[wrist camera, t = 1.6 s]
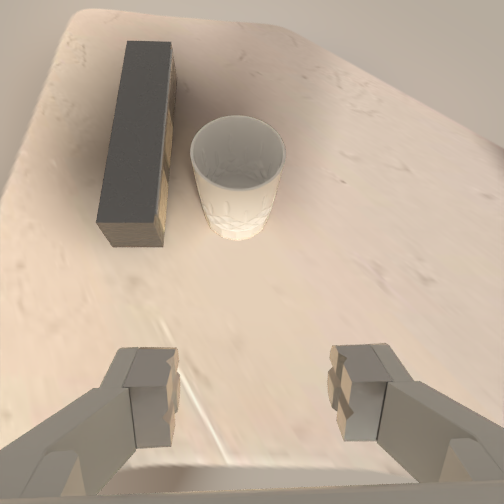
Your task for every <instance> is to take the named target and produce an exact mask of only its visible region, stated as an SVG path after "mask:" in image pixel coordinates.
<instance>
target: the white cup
mask: <svg viewBox="0 0 504 504" xmlns="http://www.w3.org/2000/svg"><path fill="white" fill-rule="evenodd" d="M190 157H191V162H192V166H193V170H194V175H195V179H196V184H197V188H198V192H199V196H200V200H201V204H202V207H203V210H204V213H205V217H206V220H207V222H208V224H209V226H210V228H211V229H212V230H213V231H214V232H216V233H217V234H218V235H220V236H221V237H222V238H227V239H231V240H235V241H238V240H243V239H249V238H252V237H253V236H255V235H256V234H257V233H259V232H260V231H262V229H263V228H264V226H265V224H266V222H267V220H268V218H269V214H270V211H271V209H272V206H273V203H274V199H275V196H276V193H277V189H278V185H279V182H280V178H281V174H282V171H283V167H284V164H285V159H286V149H285V145H284V142H283V140H282V138H281V137H280V135H279V134H278V133H277V131H276V130H275V129H274V128H272V127H271V126H270V125H268V124H267V123H265V122H263V121H261V120H259V119H257V118H253V117H250V116H243V115H230V116H224V117H220V118H217V119H215V120H213V121H211V122H209V123H207V124H206V125H204V126H203V127H202V128H201V129H200V130H199V131H198V132H197V134H196V135H195V137H194V138H193V141H192V143H191V148H190Z"/></svg>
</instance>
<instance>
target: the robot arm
mask: <svg viewBox="0 0 504 504" xmlns="http://www.w3.org/2000/svg"><path fill="white" fill-rule="evenodd" d="M330 361H331V363H332V366H333V367H332V368H331V369H330V370H329V371H328V380H327V385H328V395H329V400H330V403H331V406H332V408H333V409H335V410H336V411H337V420H336V421H337V423H338V426H339V429H340V432H341V435H342V437H343V440H344V441H377V443H378V444H379V445H380V446H381V447H382V448H383V449H384V450H385V451H386V452H387V453H388V454H389V455H390V456H391V457H392V458H394V459H395V460H396V461H397V462H398V463H399V464H400V465H401V466H402V467H403V468H404V469H405V470H406V471H407V472H408V473H409V474H410V475H411V476H413V477H414V478H415V479H416V480H417V481H418V482H419V483H408V484H407V483H406V484H379V485H353V486H352V485H350V486H323V487H298V488H274V489H273V488H272V489H246V490H221V491H197V492H196V491H195V492H169V493H142V494H117V495H97V494H98V493H99V492H100V491H101V490H102V489H103V487H104V486H105V485H106V484H107V483H108V482H109V481H110V480H111V478H112V477H113V476H114V475H115V474H116V473H117V472H118V470H119V469H120V468H121V467H122V466H123V465H124V464H125V463H126V461H127V460H128V459H129V458H130V457H131V456H132V455H133V454H134V452H135V451H136V449H138V448H155V447H171V445H172V439H173V434H174V429H175V413H176V412H177V411H178V407H179V399H180V375H179V373H178V372H177V368H178V363H179V356H178V349H177V348H170V347H140V348H139V347H127V348H120V349H119V350H118V351H117V353H116V355H115V357H114V359H113V361H112V363H111V365H110V367H109V369H108V371H107V373H106V375H105V377H104V379H103V381H102V383H101V385H100V387H99V388H93V389H91V390H90V391H88V392H87V393H85V394H84V395H82V396H81V397H79V398H78V399H76V400H75V401H73V402H72V403H70V404H69V405H67V406H66V407H64V408H63V409H61V410H60V411H58V412H57V413H55V414H54V415H52V416H51V417H49V418H48V419H46V420H45V421H43V422H42V423H40V424H39V425H37V426H36V427H34V428H33V429H31V430H30V431H28V432H27V433H25V434H24V435H22V436H21V437H19V438H18V439H16V440H15V441H13V442H12V443H10V444H9V445H7V446H6V447H4V448H3V449H1V450H0V504H504V428H503V427H501V426H499V425H497V424H495V423H494V422H492V421H490V420H488V419H487V418H485V417H483V416H481V415H479V414H478V413H476V412H474V411H472V410H470V409H469V408H467V407H465V406H463V405H462V404H460V403H458V402H456V401H454V400H453V399H451V398H449V397H447V396H446V395H444V394H442V393H440V392H438V391H437V390H435V389H433V388H431V387H429V386H428V385H426V384H424V383H422V382H421V381H414V380H413V378H412V377H411V376H410V374H409V373H408V371H407V370H406V369H405V367H404V366H403V364H402V363H401V361H400V360H399V359H398V357H397V356H396V354H395V353H394V352H393V350H392V349H391V347H390V346H389V345H388V344H386V343H379V344H366V345H334V346H332V348H331V351H330Z"/></svg>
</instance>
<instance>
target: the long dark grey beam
mask: <svg viewBox="0 0 504 504" xmlns="http://www.w3.org/2000/svg"><path fill="white" fill-rule="evenodd" d="M176 84H177V76H176V69H175V63H174V57H173V49H172V45H171V42H155V41H127V45H126V51H125V57H124V63H123V69H122V74H121V80H120V86H119V92H118V98H117V104H116V109H115V115H114V121H113V127H112V133H111V139H110V144H109V150H108V156H107V162H106V168H105V174H104V179H103V185H102V191H101V197H100V203H99V209H98V214H97V220H96V223H97V225H98V226H99V228H100V229H101V231H102V232H103V234H104V235H105V236H106V238H107V239H108V241H109V242H110V244H111V245H112V247H163V243H164V232H165V221H166V209H167V196H168V182H169V170H170V159H171V147H172V135H173V121H174V109H175V96H176Z"/></svg>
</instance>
